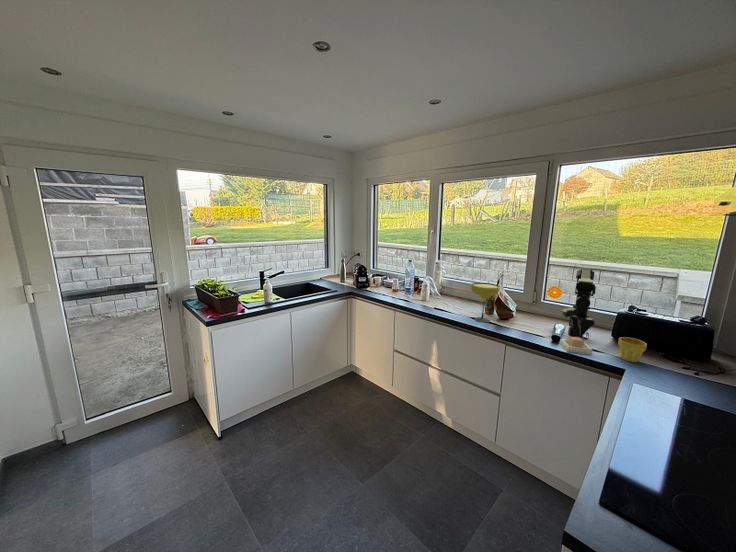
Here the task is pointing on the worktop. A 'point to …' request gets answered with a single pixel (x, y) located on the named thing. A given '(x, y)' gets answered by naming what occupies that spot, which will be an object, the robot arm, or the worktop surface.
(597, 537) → the worktop surface
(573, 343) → the terracotta block
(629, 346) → the plant pot
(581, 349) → the sage tray
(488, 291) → the cocktail glass
